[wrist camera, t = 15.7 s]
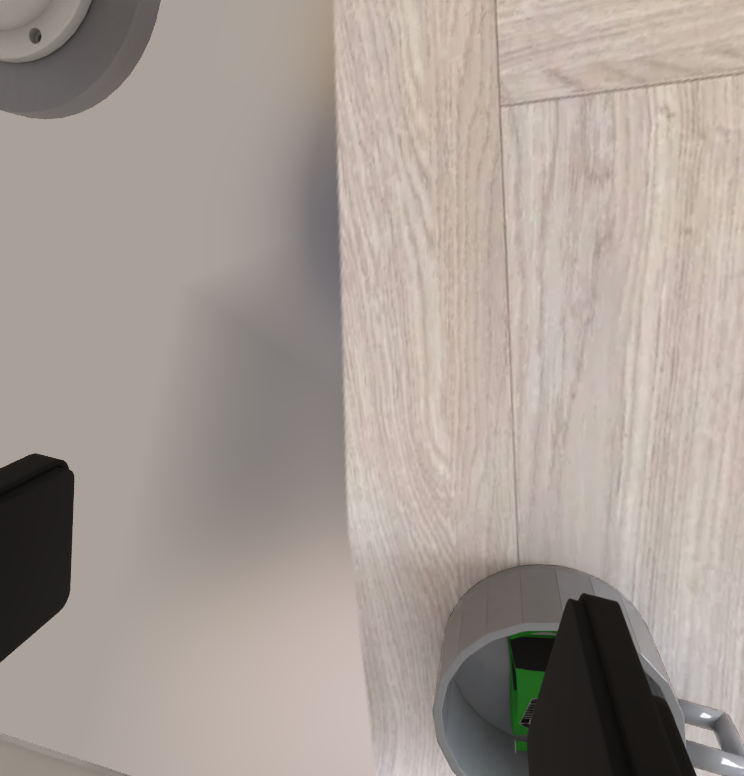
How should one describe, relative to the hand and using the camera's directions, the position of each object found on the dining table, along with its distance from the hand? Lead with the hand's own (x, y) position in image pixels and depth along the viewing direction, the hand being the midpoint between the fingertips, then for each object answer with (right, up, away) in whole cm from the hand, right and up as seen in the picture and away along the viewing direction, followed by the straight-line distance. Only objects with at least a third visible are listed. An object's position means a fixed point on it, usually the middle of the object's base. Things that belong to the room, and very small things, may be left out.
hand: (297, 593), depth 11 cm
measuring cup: (+14, -14, +27) cm, 33 cm away
